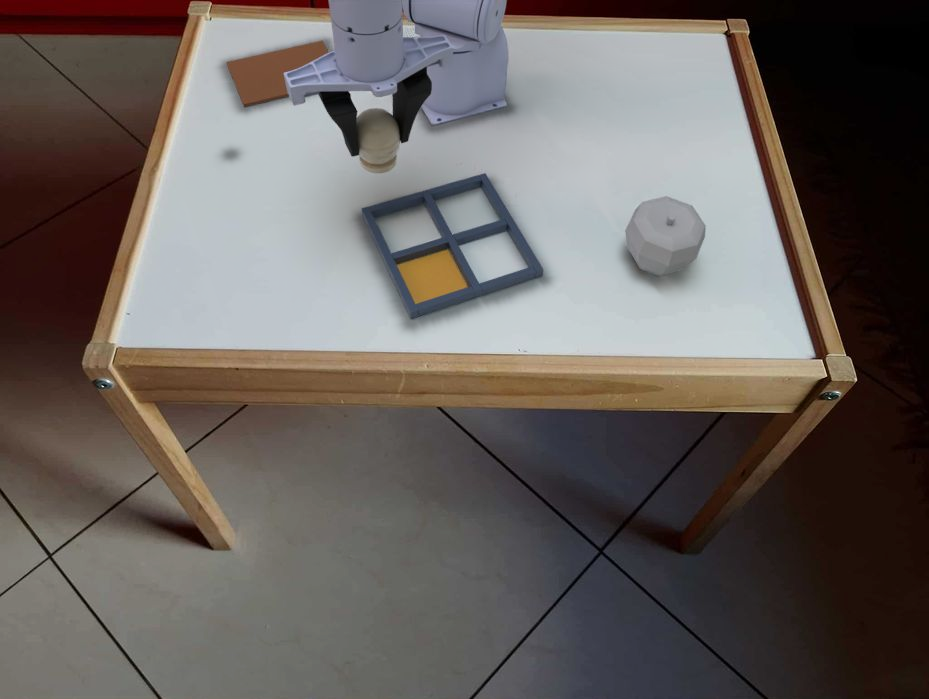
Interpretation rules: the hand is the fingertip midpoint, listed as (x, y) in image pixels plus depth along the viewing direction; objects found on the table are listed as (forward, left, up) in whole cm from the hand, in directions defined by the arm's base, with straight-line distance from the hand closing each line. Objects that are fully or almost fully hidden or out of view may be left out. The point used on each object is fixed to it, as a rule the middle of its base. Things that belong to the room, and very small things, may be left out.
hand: (376, 142), depth 71 cm
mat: (+3, -24, -9) cm, 26 cm away
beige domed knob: (0, 0, -2) cm, 2 cm away
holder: (-5, +8, -9) cm, 13 cm away
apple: (-24, +17, -10) cm, 30 cm away
